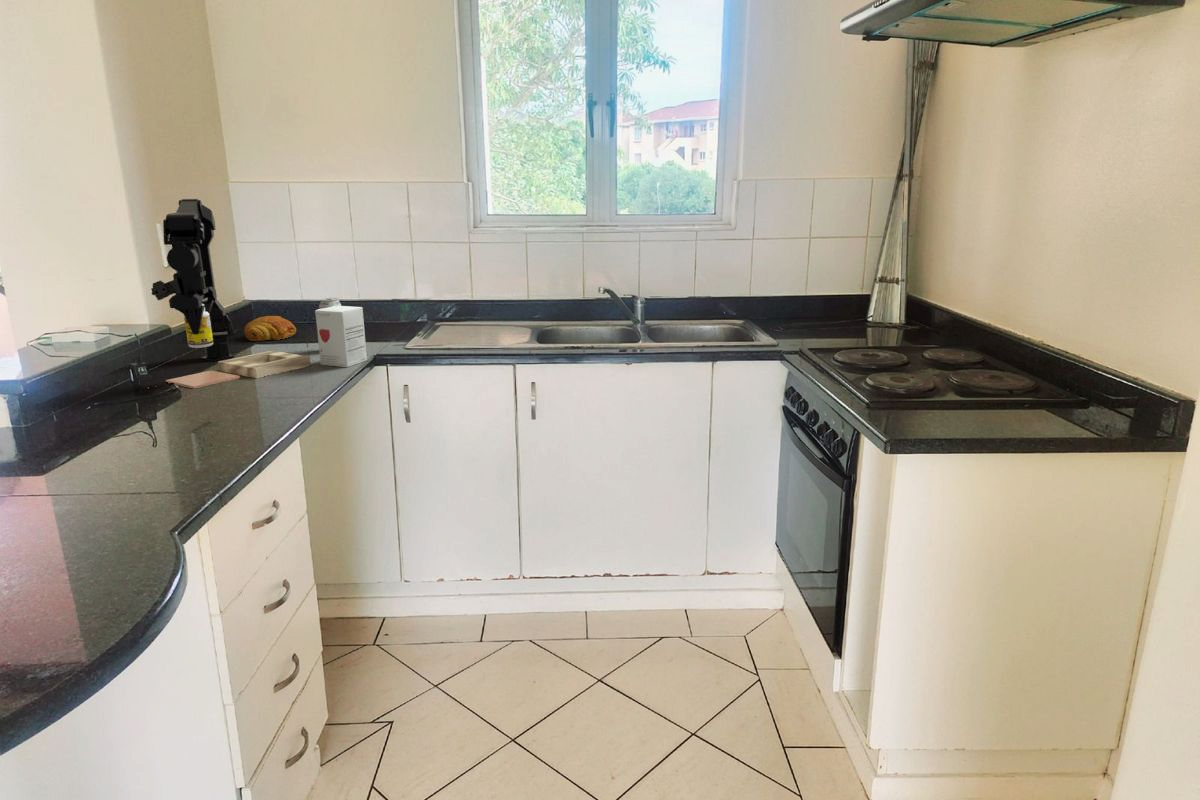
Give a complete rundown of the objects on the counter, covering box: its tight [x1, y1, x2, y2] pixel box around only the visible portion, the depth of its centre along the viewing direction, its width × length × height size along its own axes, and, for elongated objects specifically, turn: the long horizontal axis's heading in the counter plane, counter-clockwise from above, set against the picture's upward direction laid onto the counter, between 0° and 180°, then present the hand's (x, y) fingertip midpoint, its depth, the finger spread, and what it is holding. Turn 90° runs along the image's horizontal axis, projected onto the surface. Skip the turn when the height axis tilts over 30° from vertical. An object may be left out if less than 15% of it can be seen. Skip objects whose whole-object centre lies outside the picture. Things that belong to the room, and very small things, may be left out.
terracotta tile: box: [165, 369, 241, 389], centre depth 190 cm, size 12×12×1 cm
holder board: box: [217, 350, 311, 379], centre depth 202 cm, size 16×16×2 cm
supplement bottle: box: [183, 304, 213, 349], centre depth 187 cm, size 6×6×10 cm
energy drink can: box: [318, 297, 342, 309], centre depth 222 cm, size 6×6×15 cm
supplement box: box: [314, 305, 368, 368], centre depth 206 cm, size 9×9×15 cm
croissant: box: [243, 315, 297, 342], centre depth 244 cm, size 14×16×8 cm
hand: (199, 332), depth 187 cm, fingers closed on supplement bottle, 5 cm apart
